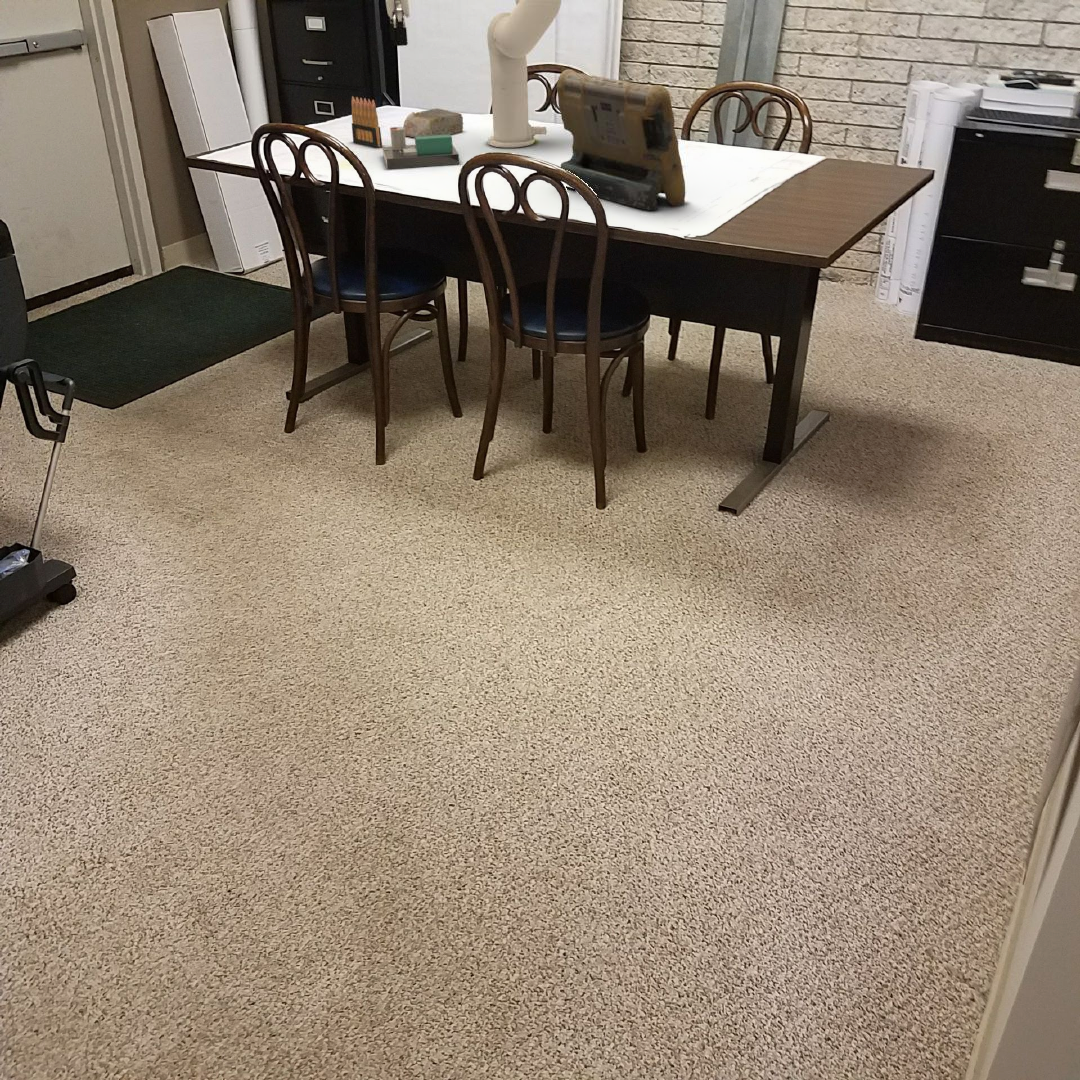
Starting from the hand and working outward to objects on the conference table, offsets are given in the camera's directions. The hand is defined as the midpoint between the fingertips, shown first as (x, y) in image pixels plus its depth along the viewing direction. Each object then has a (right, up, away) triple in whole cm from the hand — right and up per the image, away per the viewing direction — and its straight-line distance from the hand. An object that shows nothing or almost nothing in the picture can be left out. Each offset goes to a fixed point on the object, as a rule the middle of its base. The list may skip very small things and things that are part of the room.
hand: (399, 42), depth 266 cm
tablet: (+53, -47, -27) cm, 76 cm away
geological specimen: (+5, -10, +33) cm, 35 cm away
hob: (+5, -28, +5) cm, 29 cm away
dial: (-1, -25, +6) cm, 25 cm away
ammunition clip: (-12, -17, +23) cm, 31 cm away
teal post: (+7, -27, +1) cm, 28 cm away
